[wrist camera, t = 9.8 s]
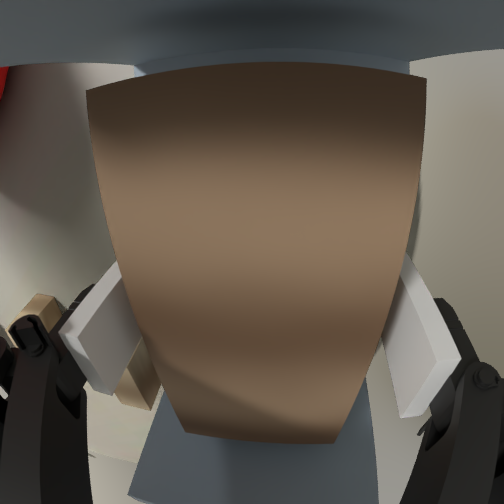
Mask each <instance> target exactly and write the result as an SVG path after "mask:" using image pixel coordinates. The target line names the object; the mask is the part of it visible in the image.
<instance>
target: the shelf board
mask: <svg viewBox="0 0 504 504" xmlns="http://www.w3.org/2000/svg"><path fill="white" fill-rule="evenodd" d="M426 83H427V79H426V78H423V77H418V76H413V75H409V74H404V73H399V72H393V71H387V70H381V69H375V68H367V67H360V66H351V65H341V64H329V63H313V62H246V63H230V64H218V65H208V66H199V67H191V68H184V69H178V70H171V71H165V72H160V73H154V74H149V75H144V76H140V77H135V78H131V79H126V80H122V81H118V82H114V83H110V84H107V85H103V86H99V87H96V88H93V89H89V90H86V99H87V110H88V119H89V128H90V135H91V143H92V149H93V156H94V162H95V168H96V173H97V179H98V184H99V189H100V194H101V199H102V204H103V208H104V213H105V217H106V221H107V225H108V229H109V233H110V237H111V241H112V245H113V249H114V252H115V256H116V259H117V263H118V266H119V270H120V273H121V276H122V280H123V283H124V286H125V289H126V292H127V295H128V298H129V301H130V304H131V307H132V310H133V313H134V316H135V319H136V321H137V324H138V327H139V330H140V332H141V335H142V338H143V340H144V343H145V345H146V348H147V350H148V353H149V355H150V358H151V360H152V363H153V365H154V367H155V370H156V372H157V374H158V377H159V379H160V381H161V383H162V386H163V388H164V390H165V392H166V394H167V397H168V399H169V401H170V403H171V405H172V407H173V409H174V411H175V413H176V415H177V417H178V419H179V421H180V423H181V425H182V427H183V429H184V431H185V432H186V433H192V434H197V435H204V436H210V437H217V438H224V439H232V440H241V441H252V442H264V443H282V444H334V442H335V440H336V438H337V437H338V435H339V433H340V431H341V429H342V427H343V425H344V423H345V421H346V418H347V416H348V414H349V412H350V410H351V408H352V406H353V404H354V401H355V399H356V397H357V395H358V392H359V390H360V388H361V385H362V383H363V381H364V378H365V376H366V373H367V371H368V368H369V366H370V363H371V361H372V358H373V356H374V353H375V350H376V348H377V345H378V342H379V339H380V336H381V334H382V331H383V328H384V325H385V322H386V319H387V316H388V313H389V309H390V306H391V303H392V300H393V296H394V293H395V289H396V286H397V282H398V279H399V275H400V271H401V267H402V263H403V259H404V255H405V251H406V247H407V243H408V238H409V233H410V229H411V224H412V219H413V213H414V208H415V202H416V196H417V190H418V184H419V177H420V169H421V161H422V151H423V142H424V130H425V129H424V128H425V115H426Z"/></svg>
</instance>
